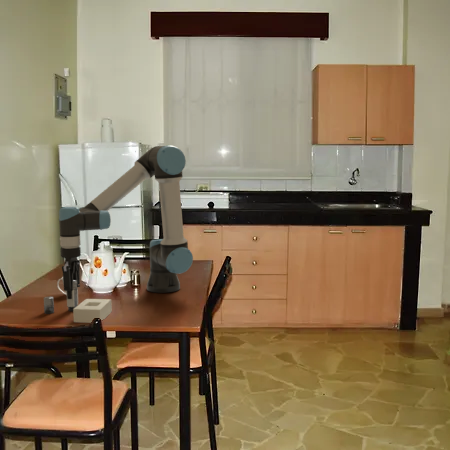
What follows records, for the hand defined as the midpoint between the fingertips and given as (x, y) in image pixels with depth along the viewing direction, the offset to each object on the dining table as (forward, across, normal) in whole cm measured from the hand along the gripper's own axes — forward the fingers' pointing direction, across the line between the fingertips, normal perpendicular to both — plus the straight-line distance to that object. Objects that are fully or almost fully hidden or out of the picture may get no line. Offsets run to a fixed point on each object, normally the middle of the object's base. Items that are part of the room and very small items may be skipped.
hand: (72, 304), depth 213 cm
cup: (+2, -23, -11) cm, 26 cm away
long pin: (+2, 0, 0) cm, 2 cm away
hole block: (+2, +8, +11) cm, 14 cm away
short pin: (+2, +4, -8) cm, 9 cm away
